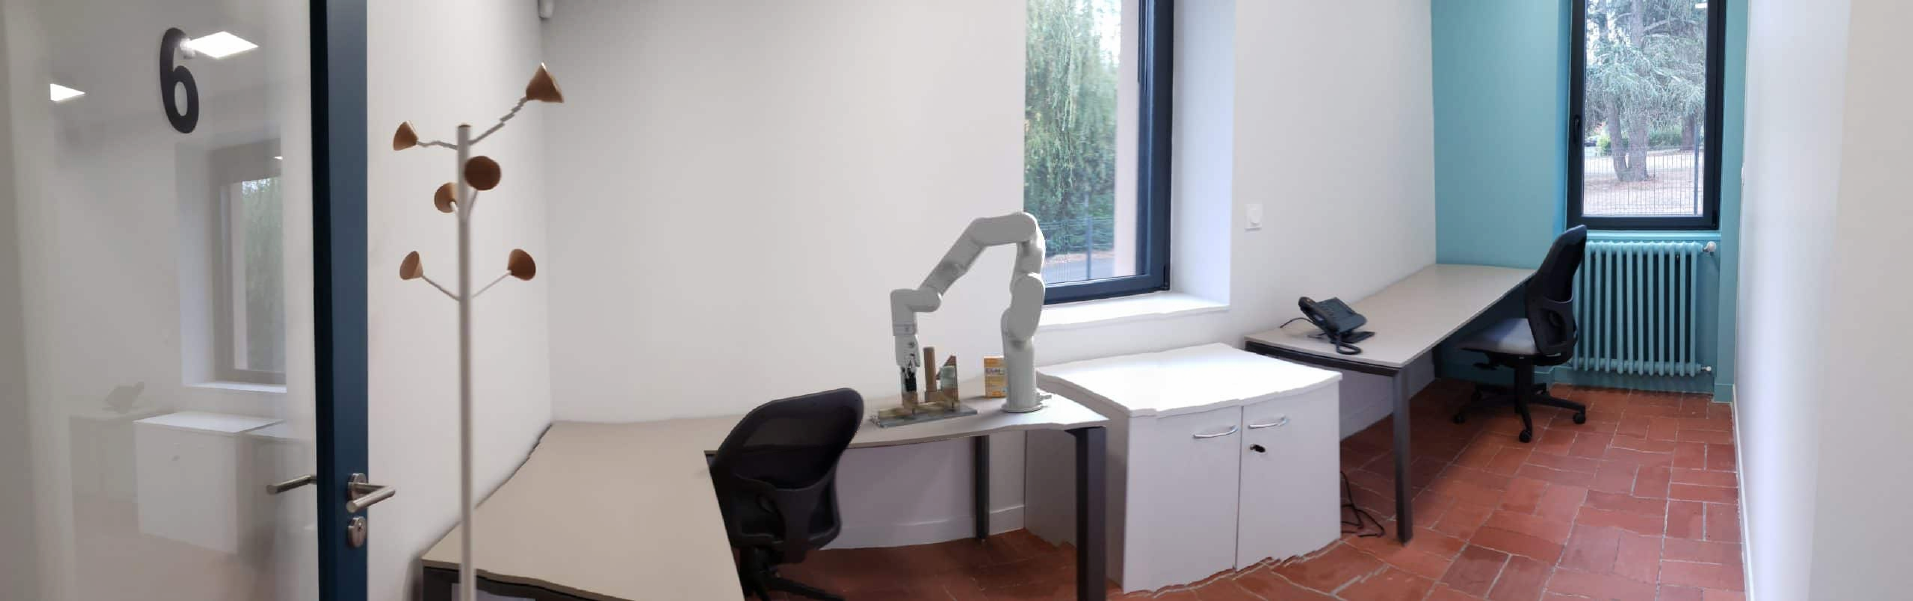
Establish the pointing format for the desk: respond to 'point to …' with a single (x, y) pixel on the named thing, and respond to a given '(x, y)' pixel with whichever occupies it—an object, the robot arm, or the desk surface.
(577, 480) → the desk surface
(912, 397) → the sliding leg
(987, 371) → the supplement box
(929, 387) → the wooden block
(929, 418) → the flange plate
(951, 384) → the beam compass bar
